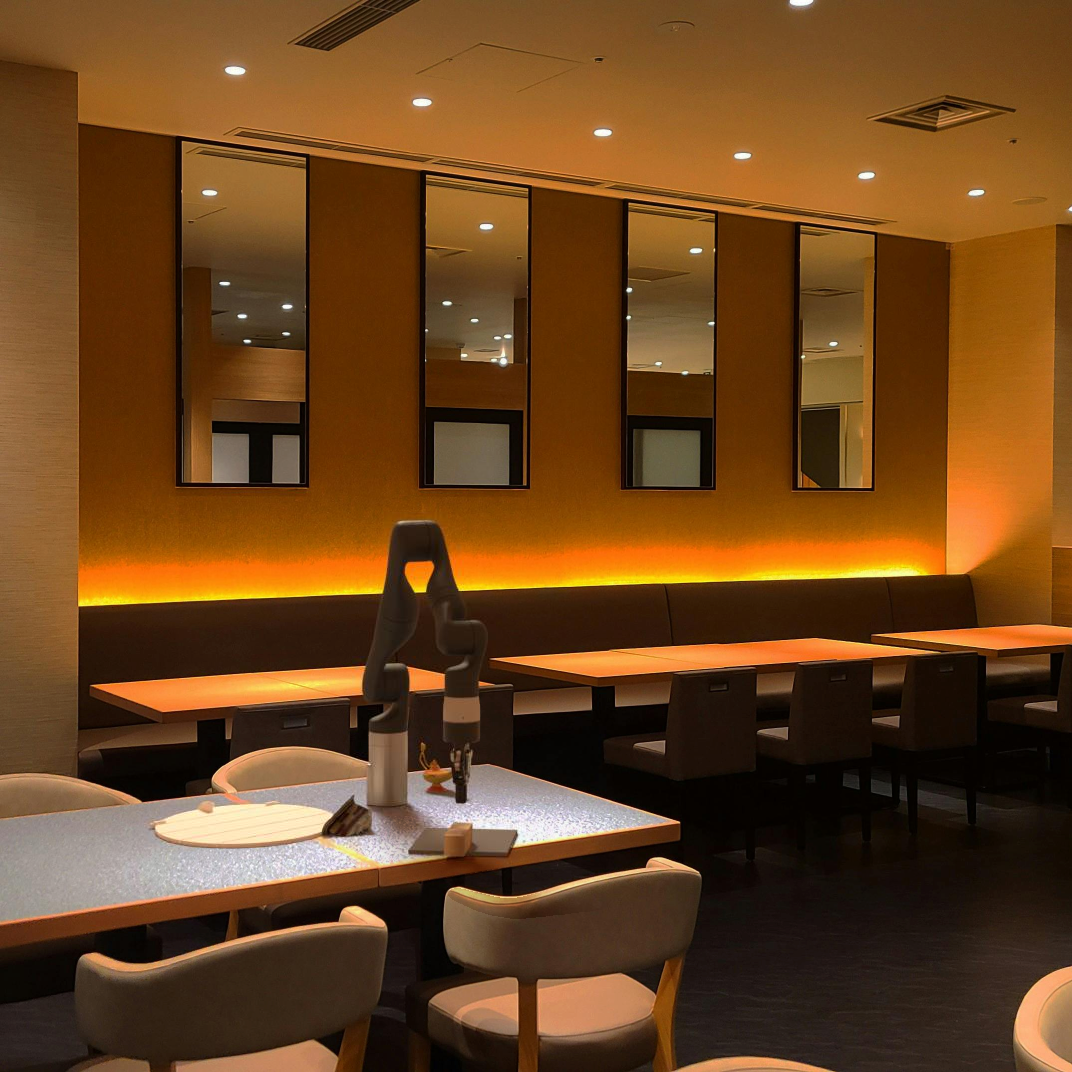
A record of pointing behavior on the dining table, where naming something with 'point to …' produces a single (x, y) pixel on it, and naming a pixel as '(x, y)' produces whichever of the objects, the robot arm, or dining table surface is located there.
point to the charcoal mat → (482, 845)
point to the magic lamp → (435, 774)
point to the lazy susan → (242, 825)
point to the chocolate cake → (349, 820)
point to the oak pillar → (458, 839)
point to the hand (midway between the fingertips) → (461, 802)
